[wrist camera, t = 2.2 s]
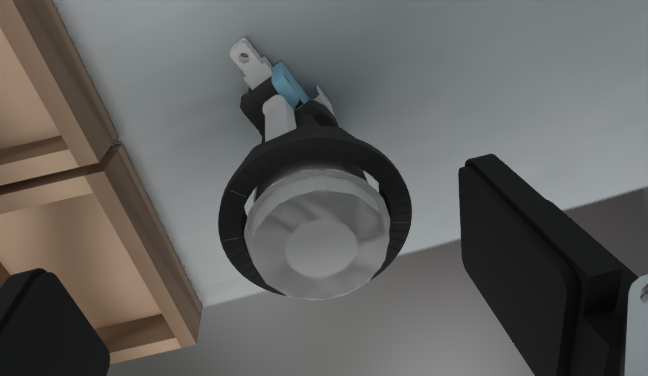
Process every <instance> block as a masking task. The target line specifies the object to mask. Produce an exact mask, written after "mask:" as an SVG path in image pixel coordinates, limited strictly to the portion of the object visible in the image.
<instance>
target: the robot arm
mask: <svg viewBox="0 0 648 376" xmlns="http://www.w3.org/2000/svg"><path fill="white" fill-rule="evenodd" d="M458 176H459V200H460V224H461V249H462V260H463V264H464V267H465V269H466V271H467V273H468V274H469V276H470V278H471V279H472V280H473V282H474V284H475V285H476V287H477V288H478V290H479V291H480V293H481V294H482V296H483V297H484V299H485V300H486V302H487V303H488V305H489V306H490V308H491V310H492V311H493V313H494V314H495V316H496V317H497V318H498V320H499V322H500V323H501V324H502V326H503V328H504V329H505V331H506V332H507V334H508V335H509V337H510V338H511V340H512V342H513V343H514V345H515V346H516V348H517V349H518V351H519V352H520V354H521V355H522V357H523V358H524V360H525V361H526V363H527V364H528V366H529V367H530V369H531V370H532V372H533V373H534V375H535V376H648V275H645V276H642V277H638V276H636V275H635V274H634V273H633V272H632V271H631V270H629V269H628V268H627V267H626V266H625V265H624V264H623V263H621V262H620V261H619V260H618V259H617V258H616V257H614V256H613V255H612V254H611V253H610V252H609V251H607V250H606V249H605V248H604V247H603V246H602V245H601V244H599V243H598V242H597V241H596V240H595V239H594V238H593V237H591V236H590V235H589V234H588V233H587V232H586V231H584V230H583V229H582V228H581V227H580V226H579V225H578V224H576V223H575V222H574V221H573V220H572V219H571V218H569V217H568V216H567V215H566V214H565V213H564V212H563V211H561V210H560V209H559V208H558V207H557V206H556V205H554V204H553V203H552V202H550V201H549V200H546V199H545V198H544V197H542V196H541V195H540V194H539V193H538V192H537V191H536V190H534V189H533V188H532V187H531V186H530V185H529V184H528V183H526V182H525V181H524V180H523V179H522V178H521V177H519V176H518V175H517V174H516V173H515V172H514V171H513V170H511V169H510V168H509V167H508V166H507V165H506V164H505V163H503V162H502V161H501V160H500V159H499V158H498V157H497V156H495V155H494V154H488V155H484V156H480V157H476V158H472V159H468V160H467V161H466V163H465V167H462V168H460V169H459V174H458ZM109 365H110V353H109V350H108V348H107V347H106V345H105V344H104V343H103V341H102V340H101V338H100V337H99V335H98V334H97V333H96V331H95V330H94V328H93V327H92V325H91V324H90V323H89V321H88V320H87V318H86V317H85V315H84V314H83V313H82V311H81V310H80V308H79V307H78V306H77V304H76V303H75V301H74V300H73V298H72V297H71V296H70V294H69V293H68V291H67V290H66V288H65V287H64V286H63V284H62V283H61V281H60V280H59V279H58V277H57V276H56V275H55V274H54V273H52V272H47V271H46V270H44V269H42V268H36V269H32V270H29V271H25V272H21V273H17V274H13V275H11V276H9V277H8V278H7V280H6V281H5V282H4V284H3V285H2V287H1V288H0V376H106V375H107V372H108V369H109Z"/></svg>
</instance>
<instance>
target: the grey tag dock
mask: <svg viewBox="0 0 648 376" xmlns="http://www.w3.org/2000/svg"><path fill="white" fill-rule="evenodd" d="M36 268H42V269H44V270H46V271H47V272H52V273H54V274H55V275H56V276H57V277H58V279H59V280H60V281H61V283H62V284H63V286H64V287H65V288H66V290H67V291H68V293H69V294H70V296H71V297H72V298H73V300H74V301H75V303H76V304H77V306H78V307H79V308H80V310H81V311H82V313H83V314H84V315H85V317H86V318H87V320H88V321H89V323H90V324H91V325H92V327H93V328H94V330H95V331H96V333H97V334H98V335H99V337H100V338H101V340H102V341H103V343H104V344H105V345H106V347H107V348H108V350H109V353H110V364H114V363H117V362H122V361H127V360H131V359H135V358H140V357H143V356H148V355H152V354H156V353H161V352H165V351H170V350H173V349H178V348H182V347H187V346H191V345H195V344H196V343H197V337H198V330H199V325H200V318H201V313H202V306H201V304H200V302H199V300H198V298H197V295H196V293H195V291H194V289H193V287H192V285H191V283H190V281H189V279H188V277H187V275H186V273H185V271H184V269H183V267H182V265H181V263H180V261H179V259H178V257H177V255H176V253H175V251H174V249H173V247H172V245H171V242H170V240H169V238H168V236H167V234H166V232H165V230H164V228H163V226H162V224H161V222H160V220H159V218H158V216H157V214H156V212H155V210H154V208H153V206H152V204H151V202H150V200H149V198H148V196H147V194H146V192H145V190H144V187H143V185H142V183H141V181H140V179H139V177H138V175H137V173H136V171H135V169H134V167H133V165H132V163H131V161H130V159H129V157H128V155H127V153H126V151H125V149H124V147H123V145H122V144H121V145H116V146H112V147H110V148H109V150H108V151H107V152H106V154H105V155H104V156H103V158H102V159H101V160H100V162H99V163H95V164H91V165H86V166H82V167H78V168H73V169H69V170H65V171H61V172H56V173H52V174H48V175H43V176H39V177H35V178H31V179H26V180H22V181H18V182H13V183H9V184H5V185H1V186H0V288H1V287H2V285H3V284H4V282H5V281H6V280H7V278H8V277H9V276H11V275H13V274H17V273H21V272H25V271H29V270H32V269H36Z"/></svg>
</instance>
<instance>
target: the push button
mask: <svg viewBox="0 0 648 376" xmlns="http://www.w3.org/2000/svg"><path fill="white" fill-rule="evenodd" d="M241 53H247V54H248V55H249V56H248V57H242V56H241ZM229 56H230V57H231V58H232V60H233V61H234V62H235V63H236V65H237V66H238V67H239V68H240V70H241V71H242V72H243V73H244V75H245V77H244V78H243V79H244V80H245V82H246V83H247V84H248V85H249V91H248V92H247V93H246V94H244V95H243V96H242V98H241V104H240V107H241V109H242V111H243V113H244V114H245V115H246V116H247V117H248V119H249V120H250V121H251V122H252V123H253V124H254V126H255V127H256V128H257V129H258V130H259V132H260V134H261V135H262V144H259V145H257V146H255V147H254V148H253V149H252V150H251V152H250V153H249V154H248V156H247V157H246V158H245V160H244V161H243V162H242V164H241V165H240V167H239V168H238V169H237V171H236V172H235V173H234V174H233V176H232V178H231V179H230V181H229V182H228V184H227V187H226V189H225V191H224V194H223V197H222V200H221V205H220V211H219V220H218V227H219V236H220V241H221V244H222V246H223V249H224V251H225V253H226V255H227V257H228V259H229V260H230V262H231V263H232V264H233V266H234V267H235V268H236V269H237V270H238V271H239V272H240V273H241V274H242V275H243V276H244V277H245V278H247V279H248V280H249V281H251V282H252V283H254V284H256V285H257V286H259V287H261V288H263V289H265V290H268V291H271V292H273V293H277V294H280V295H285V296H289V297H292V298H302V299H309V300H316V301H318V300H322V299H323V300H327V299H330V298H333V297H338V296H343V295H346V294H348V293H349V292H351V291H353V290H356V289H358V288H359V287H361V286H362V285H363V284H365V283H366V282H368V281H370V280H371V279H373V278H374V277H376V276H377V275H378V274H380V273H381V272H382V271H383V270H384V269H385V268H386V267H387V266H388V265H389V264H390V263H391V262H392V261H393V260H394V259H395V257H396V256H397V255H398V253H399V252H400V250H401V249H402V247H403V245H404V243H405V241H406V238H407V236H408V233H409V229H410V225H411V218H412V207H411V199H410V195H409V192H408V189H407V186H406V184H405V182H404V180H403V179H402V177H401V175H400V173H399V171H398V170H397V168H396V167H395V166H394V164H393V163H392V162H391V161H390V160H389V159H388V158H387V157H386V156H385V155H384V154H383V153H382V152H380V151H379V150H378V149H376V148H375V147H373V146H372V145H370V144H368V143H366V142H364V141H362V140H359V139H356V138H355V137H353V136H352V135H350V134H349V133H347V132H346V131H344V130H343V129H341V128H339V127H338V124H337V122H336V119H335V117H334V115H335V113H334V111H333V108H332V106H331V103H330V102H329V100H328V99H327V97H326V96H325V95H324V93H323V92H322V90H321V89H320V88H319V86H318V85H317V86H316V88H317V91H318V94H319V95H318V96H317V97H316V98H314V99H310V98H309V97H308V96H307V94H306V93H305V92H304V90H303V89H302V88H301V86H300V85H299V84H298V82H297V81H296V80H295V78H294V77H293V76H292V74H291V73H290V72H289V70H288V69H287V67H286V66H285V65H284V64H283V62H282V61H280V62H279V63H277V64H276V65H275V66H272V65H271V64H270V62H269V61H268V60H267V59H266V57H265V56H264V57H263V58H261V57H260V55H259V54H258V53H257V51H256V50H255V49H254V48H253V46H252V45H251V44H250V42H249V41H248V40H247V38H244V37H243V38H242V39H240V40H239V41H238V42H236V43H235V44H234V45H233V46H231V51H230V52H229ZM363 170H364V171H366V172H367V173H368V174H370V175H371V176H372V177H373V178H374V179H375V180H376V181H377V182H378V183H379V193H378V192H377V191H376V190H375V189H374V188H373V187H372V186H371V185H369V184H368V182H367V180H366V177H365V175H364V172H363ZM254 189H255V194H254V204H253V205H252V207H251V209H250V211H249V214H248V217H247V215H246V212H245V209H244V206H245V204H246V201H247V199H248V197H249V196H250V195H251V193H252V192H253V190H254Z"/></svg>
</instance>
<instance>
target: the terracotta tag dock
mask: <svg viewBox="0 0 648 376" xmlns="http://www.w3.org/2000/svg"><path fill="white" fill-rule="evenodd" d="M117 137H118V134H117V132H116V130H115V128H114V126H113V124H112V122H111V120H110V118H109V116H108V114H107V112H106V110H105V108H104V106H103V104H102V102H101V100H100V98H99V96H98V94H97V92H96V90H95V88H94V86H93V84H92V81H91V79H90V77H89V75H88V73H87V71H86V69H85V67H84V65H83V63H82V61H81V59H80V57H79V55H78V53H77V51H76V49H75V47H74V45H73V43H72V41H71V39H70V37H69V35H68V33H67V31H66V29H65V26H64V24H63V22H62V20H61V18H60V16H59V14H58V12H57V10H56V8H55V6H54V4H53V2H52V0H0V186H1V185H5V184H9V183H13V182H18V181H22V180H26V179H31V178H35V177H39V176H43V175H48V174H52V173H56V172H61V171H65V170H69V169H73V168H78V167H82V166H86V165H91V164H95V163H99V162H100V160H101V159H102V158H103V156H104V155H105V154H106V152H107V151H108V150H109V148H110V147H111V145H112V144H113V143H114V141H115V140H116V139H117Z"/></svg>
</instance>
